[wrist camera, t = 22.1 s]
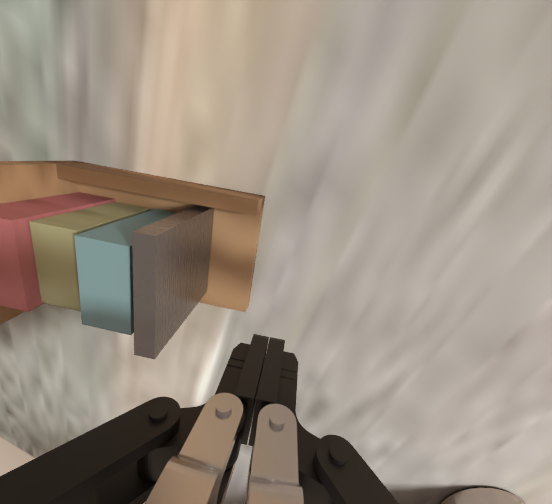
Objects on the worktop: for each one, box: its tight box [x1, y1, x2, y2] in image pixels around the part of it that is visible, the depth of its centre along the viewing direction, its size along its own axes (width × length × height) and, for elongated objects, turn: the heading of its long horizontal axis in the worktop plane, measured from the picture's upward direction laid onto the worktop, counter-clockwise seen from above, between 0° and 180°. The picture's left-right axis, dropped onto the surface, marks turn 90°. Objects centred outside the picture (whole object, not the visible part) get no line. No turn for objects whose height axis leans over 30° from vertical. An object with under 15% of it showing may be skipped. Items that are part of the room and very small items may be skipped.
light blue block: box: [74, 208, 177, 335], centre depth 19 cm, size 6×3×8 cm, turn 170°
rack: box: [0, 161, 265, 324], centre depth 19 cm, size 10×16×10 cm, turn 81°
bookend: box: [132, 205, 214, 359], centre depth 18 cm, size 7×1×8 cm, turn 170°
